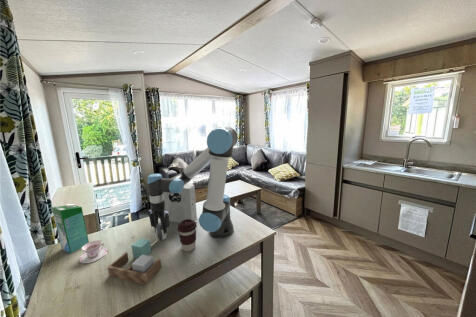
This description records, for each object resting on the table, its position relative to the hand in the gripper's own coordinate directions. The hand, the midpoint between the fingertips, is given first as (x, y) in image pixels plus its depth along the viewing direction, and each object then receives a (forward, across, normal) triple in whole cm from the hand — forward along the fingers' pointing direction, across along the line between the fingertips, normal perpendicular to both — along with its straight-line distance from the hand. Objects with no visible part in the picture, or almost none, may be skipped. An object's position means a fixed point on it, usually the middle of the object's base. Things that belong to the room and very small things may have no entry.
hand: (161, 237), depth 112 cm
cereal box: (0, 0, -21) cm, 21 cm away
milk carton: (0, +43, +18) cm, 46 cm away
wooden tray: (0, -5, +24) cm, 25 cm away
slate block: (0, -10, +25) cm, 27 cm away
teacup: (+1, +25, +21) cm, 33 cm away
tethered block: (0, 0, +9) cm, 9 cm away
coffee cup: (0, -20, +4) cm, 21 cm away
